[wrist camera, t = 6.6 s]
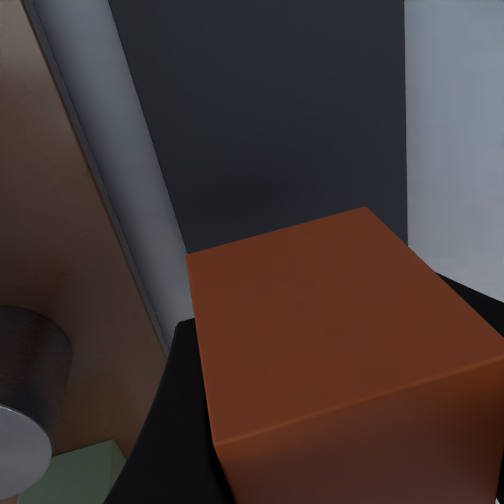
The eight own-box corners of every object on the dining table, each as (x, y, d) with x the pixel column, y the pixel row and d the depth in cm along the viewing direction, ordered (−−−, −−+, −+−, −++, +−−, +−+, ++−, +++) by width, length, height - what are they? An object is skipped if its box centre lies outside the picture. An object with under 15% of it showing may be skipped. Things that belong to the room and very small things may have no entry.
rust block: (226, 385, 13) (269, 596, 8) (184, 253, 10) (212, 446, 6) (375, 341, 13) (494, 521, 8) (366, 205, 11) (521, 352, 6)
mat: (235, 402, 25) (236, 408, 24) (104, -14, 14) (103, -14, 14) (406, 351, 25) (409, 356, 25) (397, -79, 15) (403, -81, 15)
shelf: (30, 515, 26) (6, 622, 21) (-387, 7, 12) (-686, 12, 8) (216, 457, 27) (230, 549, 22) (12, -76, 13) (-55, -114, 9)
